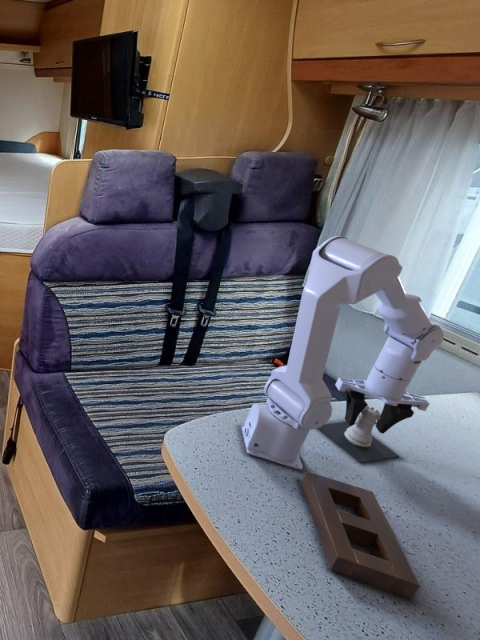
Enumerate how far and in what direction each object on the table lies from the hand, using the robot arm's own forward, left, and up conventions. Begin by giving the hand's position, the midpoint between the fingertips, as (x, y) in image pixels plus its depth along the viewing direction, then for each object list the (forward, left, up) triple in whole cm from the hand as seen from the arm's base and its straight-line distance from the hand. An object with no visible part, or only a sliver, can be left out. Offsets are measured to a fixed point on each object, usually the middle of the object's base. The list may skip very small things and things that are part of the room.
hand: (363, 426), depth 95 cm
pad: (0, 0, -4) cm, 4 cm away
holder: (-9, -27, -4) cm, 29 cm away
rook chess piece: (0, 0, -4) cm, 4 cm away
